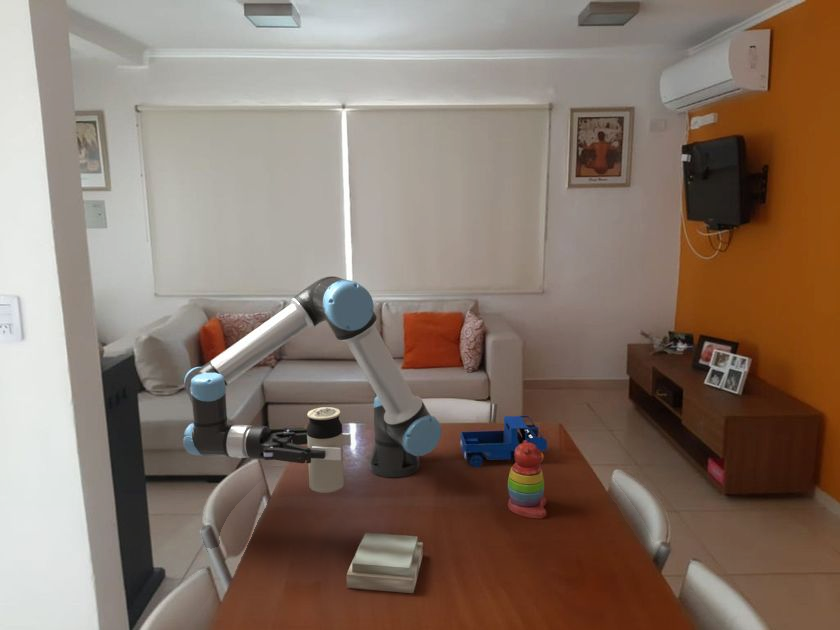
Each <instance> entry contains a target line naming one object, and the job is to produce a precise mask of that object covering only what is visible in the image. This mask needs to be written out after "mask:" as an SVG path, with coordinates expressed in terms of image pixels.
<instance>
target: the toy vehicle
mask: <svg viewBox="0 0 840 630" xmlns="http://www.w3.org/2000/svg"><path fill="white" fill-rule="evenodd" d="M523 418H528V419H529V421H530V422H531V424H527V423H526V422H525V420H524V419H523ZM503 420H504V422H503V424H504V425H503V430H476V431H475V430H473V431H461V432H460V448H461V452H462V454H463V457H464V460H465V461H469V464H470V466H471V467H473V468H479V467H481V466H482V465H483V463H484V460H483V458H486V460H488V461H490V460H491V461H493V460H497V461H498V460H511V458H512V457H513V462H514V464H515V463H516V460H515V455H514V452H515V449H516V447H517V446H518V445H520V444H522V443H523V441H524V440H527V443H532V444H534V445H536V447H537V448H538V449H539V450H540V451H547V450H548V440H547V439H545V438H544V436H543V435H542V434H541V432H540V430H539V429H540V428H539V427H537V426H536V425H535V423H534V422H533V421H532V419H531V417H530V416H529V415H517V416H515V415H514V416H513V415H504V419H503ZM518 430H519V431H518ZM468 458H469V460H468Z"/></svg>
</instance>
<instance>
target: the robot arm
mask: <svg viewBox="0 0 840 630" xmlns="http://www.w3.org/2000/svg"><path fill="white" fill-rule="evenodd" d="M374 307H375V306H374V299H373V297H372V295H371V294H370V292H369V291H368V290H367V288H365V287H364V286H362V285H361V284H360V283H358V282H356V281H353V280H350V279H343V278H341V277H338V276H326V277H323V278H320V279H318V280H316V281H315V282H313V283H311V284H310V285H309V286H307V287H306V288H304V289H303V290H302V291H300V292H299V293H298V294H295V295H294V296H293V297H292V298H291V300H290V304H289V305H287V306H286V307H285V308H283V309H282V310H280V311H279V312H277V313H276V314H274V315H273V316H272V317H270V318H269V319H268V320H266V321H265V322H263V323H262V324H260V325H259V326H258V327H256V328H255V329H253V330H252V331H251V332H249V333H248V334H246V335H245V336H243V337H242V338H241V339H240V340H238V341H237V342H235V343H234V344H232V345H230V347H228V348H227V349H225V350H223V351H222V352H221V353H220V354H218V355H216V356H215V357H214V358H213V359H211V360H210V361H208V362H207V363H205V364H204V365H202V366H197V367H193V368H191V369H190V370H188V371H187V373H186V374H185V376H184V379H183V384H184V385H183V387H184V390H185V392H186V394H187V396H188V397H189V400H190V402H191V404H192V405H191V406H192V407H191V408H192V414H193V415H192V416H193V422H192V423H190V424H188V426H187V427H186V429H185V430H184V432H183V436H184V437H183V448H184V450H185V451H186V452H187V454H189V455H194V456H200V457H201V456H202V457H223V458H227V457H228V458H238V459H239V460H242V459H243V458H244V459H245V458H246V459H248V458H249V459H258V460H265V461H273V460H274V461H281V462H287V463H295V464H296V463H297V464H308V463H311V458H312V459H323V460H341V448H338V447H318V446H312V450H311V449H310V448H308V446H304V445H308V442H307V427H306V428H299V427H298V428H290V427H284V428H283V431H279V432H278V431H277V432H274V433H273V432H272V430H271V428H270V427H269V426H268V425H250V424H229V423H228V413H227V411H228V410H227V394H226V393H227V392H226V391H227V386H228V385H229V384H230V383H232V382H233V381H235V380H237V379H238V378H239V377H240V376H242V375H243V374H244V373H246V372H247V371H248V370H250V369H251V368H253V367H254V366H255V365H257V364H258V363H260V362H261V361H263V360H264V359H266V358H267V357H268V356H270V354H272V353H274V352H275V351H276V350H277V349H279V348H281V347H282V346H283V345H285V344H286V343H288V342H289V341H291V340H292V339H293V338H294V337H296V336H297V335H299V334H301V332H303V331H305V330H306V329H307V328H312V329H313V328H314V327H316V326H317V325H319V324H321V323H322V322H325V321H326V323H328V326H329V327H330V329H331V331H332V333H333V335H335V338H336V339H337V340H338V341H340V342H344V343H346V345H347V346H348V348H349V350H350V352H351V353H352V355H353V357H354V358H355V359H354V360H356V362H357V364H358V365H359V367H360V370H361V371H362V372H363V374H364V376H365V377H366V379H367V381H368V383H369V385H370V387H371V388H372V390H373V391H374V393H375V395H376V396H375V397H374V399H373V423H374V424H373V426H374V429H373V430H374V443H373V444H374V445H373V447H372V450H371V453H370V457H369V461H368V462H369V463H368V465H369V467H368V468H369V470H370V472H372V473H373V474H374V475H377V476H380V477H382V478H402V477H408V476H410V475H413V474H414V473H416V472H417V471H418V470H419V469H420V457H423V456H425V455H427V454H429V453H432V451H434V449H435V448H436V447H437V445H438V444H439V442H440V440H441V437H442V427H441V423H440V421H438V419H437V418H436V417H435V416H433V415H431V413H430V412H429V410H428V409H427V407H426V405H425V403H424V401H423V400H422V397H420V396H418V395H413V392H412V391H411V389H410V387H409V386H408V383H407V381H406V380H405V378H404V376H403V374H402V373H401V371H400V369H399V367H398V366H397V363H396V361H395V360H394V358H393V357H392V354H391V352H390V351H389V349H388V347H387V345H386V344H385V342H384V340H383V338H382V336H381V334H380V332H379V331H378V329H377V327H376V323H377V321H378V317H377V314H376V313H375V311H374V310H375V309H374ZM342 439H343V446H349V447H350V446H351V445H352V439H351V433H350V432H349V433H346V432H342Z"/></svg>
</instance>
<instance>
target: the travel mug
mask: <svg viewBox="0 0 840 630" xmlns="http://www.w3.org/2000/svg"><path fill="white" fill-rule="evenodd" d="M341 414H342V413H341V411H340V409H339V408H336V407H330V406H329V407H328V406H325V407H324V406H323V407H317V408H313V409H310V410H308V412H307V417H308V419H309V422H308V424H307V425H306V428H307V442H308V444H307V447H308V448H310V449H311V450H312V446H318V447H338V448H341V460H323V459H312V458H311V463H307V465H308V483H309V489H310V490H311V491H313V492H317V493H321V494H322V493H325V494H327V493H333V492H336V491H338V490H340V489H341V488H343V486H344V485H345V476H344V475H345V472H344V470H345V469H344V447H343V446H344V445H343V439H342V433H343V424H342V422H341V420H340V415H341Z"/></svg>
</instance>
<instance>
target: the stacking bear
mask: <svg viewBox="0 0 840 630" xmlns="http://www.w3.org/2000/svg"><path fill="white" fill-rule="evenodd" d="M541 451H542V450H539V449H538V448H537V447H536V445H534V444H532V443H527V440H524V441H523V443H522V444H520V445H518V446H517V447H516V449H515V452H514V455H515V460H516V463H515V462H514V464H513V465H512V466H511V467H510V470H509V475H508V478H507V491H508V496H509V500H508V502H507V503H508V504H507V506H508V509H509V510H510V511H511V512H512V513H514V514H516V515H518V516H521V517H526V518H529V519H540V520H541V519H544V518H546V517H547V510H546V509H545V508H544V506H546V505H547V498H546V497H545V496H544V493H545V492H544V491H545V479H544V474H543V471H542V467H541V466H540V465H541V463H542V462H543V460H544V458H545V455H544V454H543V452H541Z"/></svg>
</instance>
